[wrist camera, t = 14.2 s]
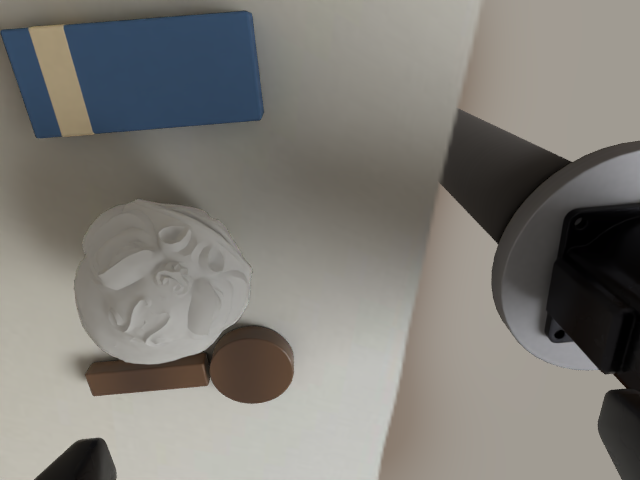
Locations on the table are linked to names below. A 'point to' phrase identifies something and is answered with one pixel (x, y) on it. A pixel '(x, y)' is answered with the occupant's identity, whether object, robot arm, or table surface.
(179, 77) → the blue eraser
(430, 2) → the table surface
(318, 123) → the table surface
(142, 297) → the frog figurine
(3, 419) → the table surface
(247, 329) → the brown disc with handle
